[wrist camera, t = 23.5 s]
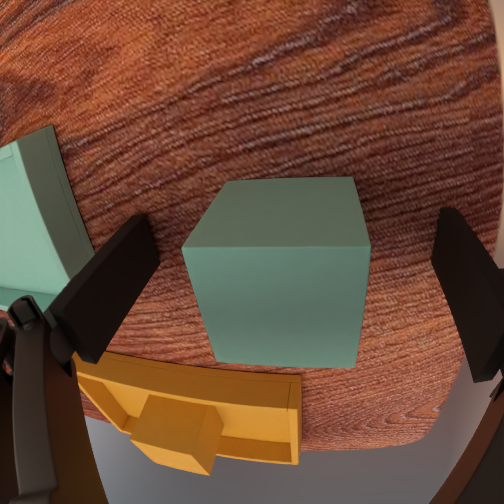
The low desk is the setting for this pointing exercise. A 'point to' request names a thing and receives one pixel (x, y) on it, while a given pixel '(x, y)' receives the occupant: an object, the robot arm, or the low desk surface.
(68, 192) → the teal tray
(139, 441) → the ochre block
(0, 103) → the low desk surface
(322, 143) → the low desk surface
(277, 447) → the ochre tray
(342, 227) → the teal block
